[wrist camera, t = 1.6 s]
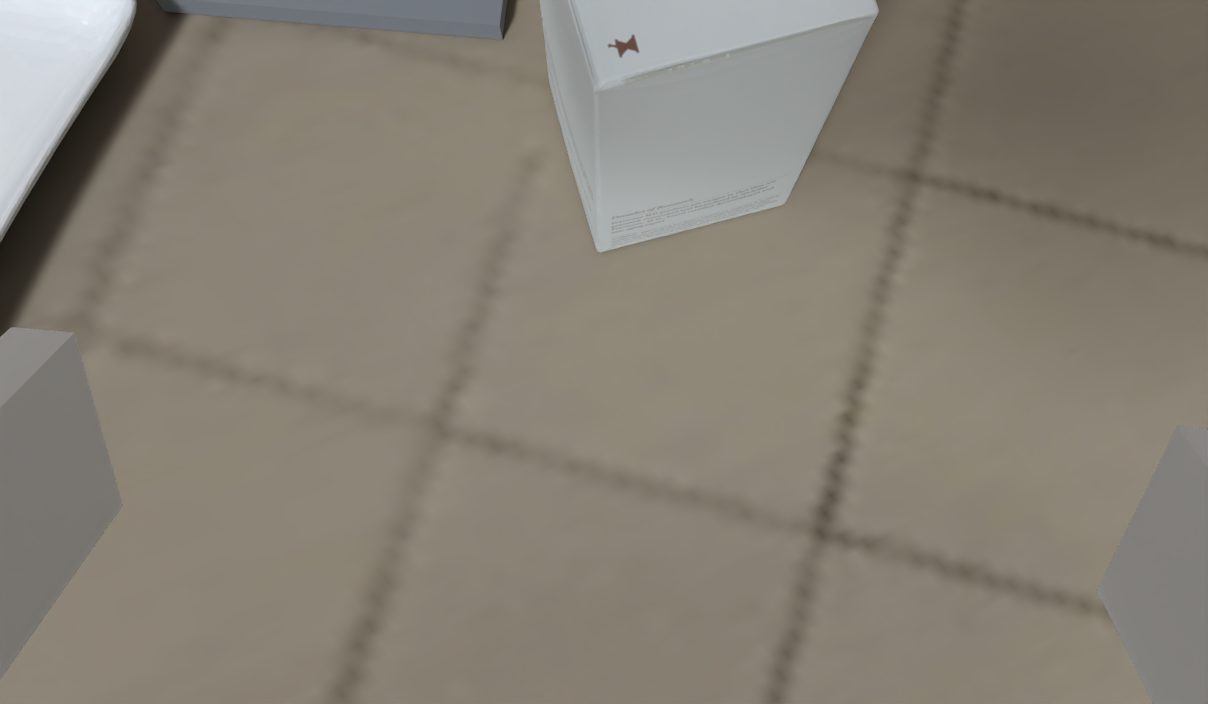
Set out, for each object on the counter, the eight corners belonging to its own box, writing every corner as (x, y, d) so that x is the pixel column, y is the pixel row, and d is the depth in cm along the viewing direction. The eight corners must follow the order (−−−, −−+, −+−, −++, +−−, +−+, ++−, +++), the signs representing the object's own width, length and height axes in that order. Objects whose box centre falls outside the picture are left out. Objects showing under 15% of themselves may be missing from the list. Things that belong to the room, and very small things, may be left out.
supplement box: (791, 208, 35) (890, 20, 23) (594, 257, 35) (585, 94, 22) (734, 29, 36) (799, -239, 24) (545, 75, 36) (511, -173, 24)
